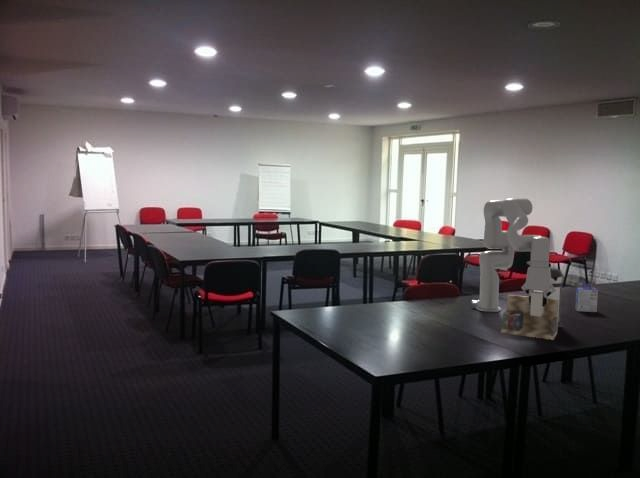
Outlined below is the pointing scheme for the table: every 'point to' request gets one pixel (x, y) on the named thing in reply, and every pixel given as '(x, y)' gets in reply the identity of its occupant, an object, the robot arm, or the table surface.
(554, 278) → the coffee press
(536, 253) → the robot arm
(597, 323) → the table surface
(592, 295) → the ink cartridge box
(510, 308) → the bookshelf
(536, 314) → the boxed book
